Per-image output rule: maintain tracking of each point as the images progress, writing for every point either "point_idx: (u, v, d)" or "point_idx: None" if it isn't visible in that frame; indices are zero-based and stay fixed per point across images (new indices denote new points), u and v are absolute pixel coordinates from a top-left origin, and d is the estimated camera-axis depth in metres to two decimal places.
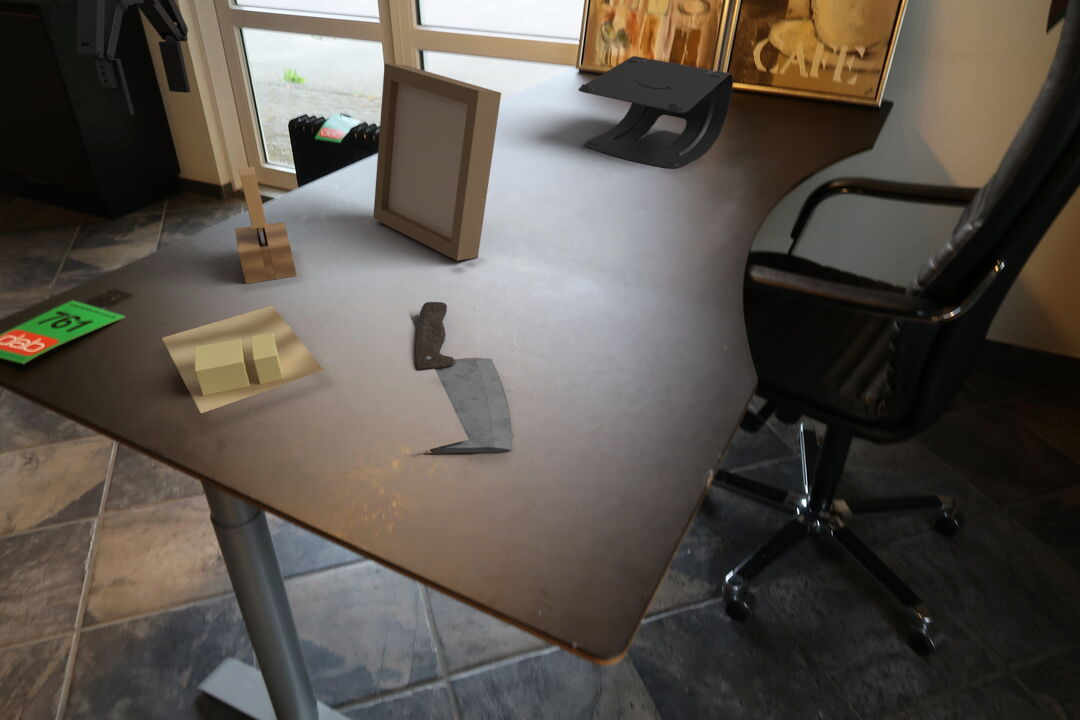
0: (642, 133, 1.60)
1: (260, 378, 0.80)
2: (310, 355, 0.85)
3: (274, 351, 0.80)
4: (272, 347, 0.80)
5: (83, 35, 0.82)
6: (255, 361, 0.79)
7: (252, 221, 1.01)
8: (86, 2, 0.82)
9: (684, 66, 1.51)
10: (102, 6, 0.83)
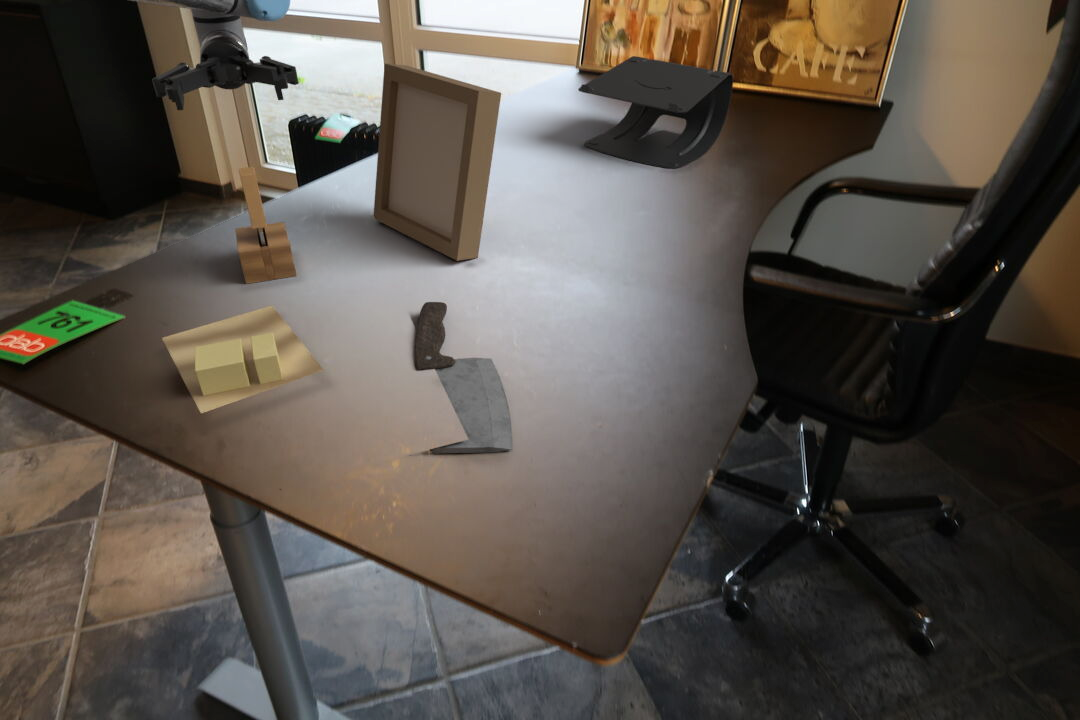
0: (642, 133, 1.60)
1: (260, 378, 0.80)
2: (310, 355, 0.85)
3: (274, 351, 0.80)
4: (272, 347, 0.80)
5: None
6: (255, 361, 0.79)
7: (252, 221, 1.01)
8: None
9: (684, 66, 1.51)
10: None
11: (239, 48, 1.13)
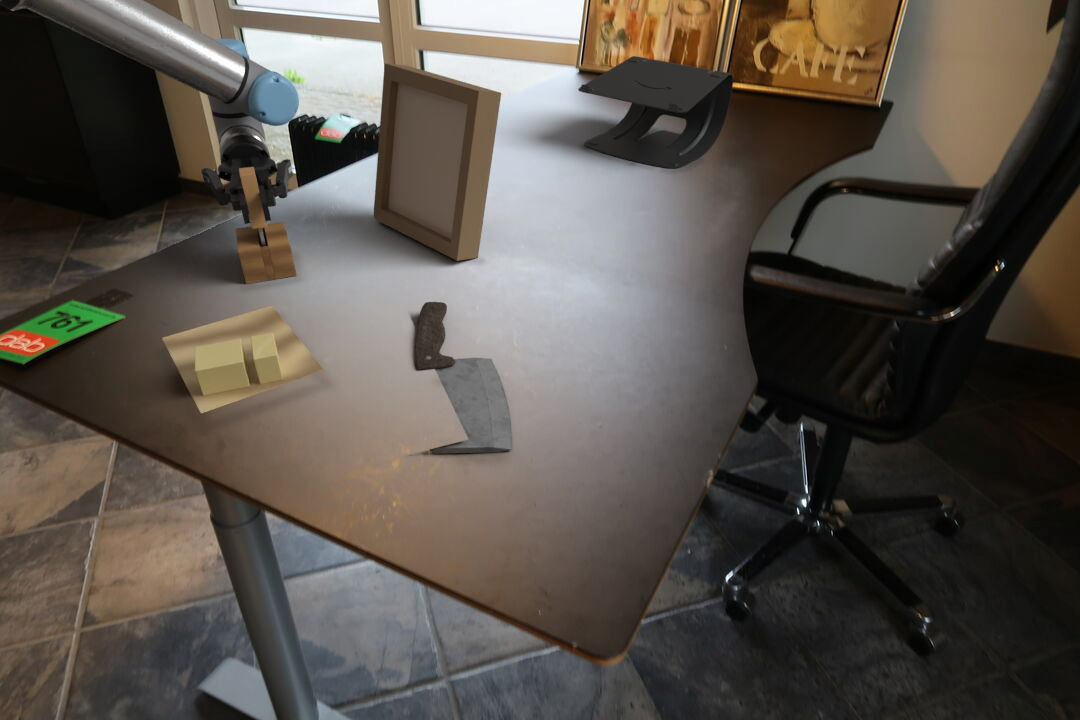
0: (642, 133, 1.60)
1: (260, 378, 0.80)
2: (310, 355, 0.85)
3: (274, 351, 0.80)
4: (272, 347, 0.80)
5: (285, 182, 1.04)
6: (255, 361, 0.79)
7: (252, 221, 1.01)
8: (286, 175, 1.07)
9: (684, 66, 1.51)
10: None
11: (261, 147, 1.10)
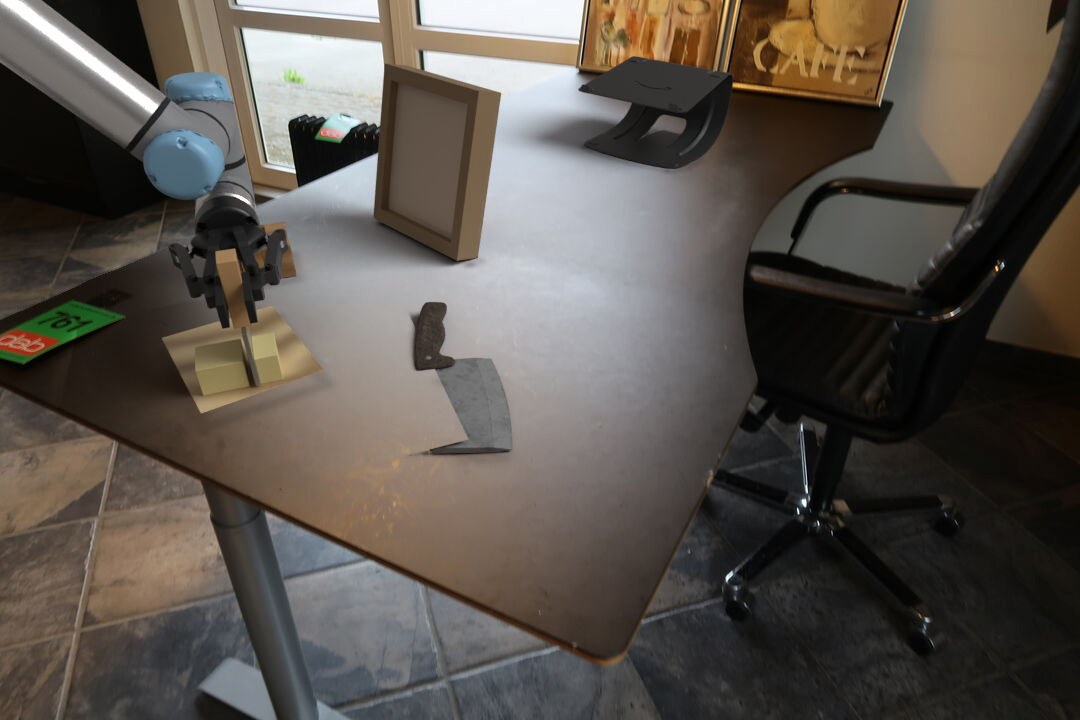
0: (642, 133, 1.60)
1: (260, 378, 0.80)
2: (310, 355, 0.85)
3: (275, 351, 0.80)
4: (272, 347, 0.80)
5: (277, 263, 0.80)
6: (256, 361, 0.79)
7: (233, 319, 0.76)
8: (279, 251, 0.83)
9: (684, 66, 1.51)
10: None
11: (247, 213, 0.86)
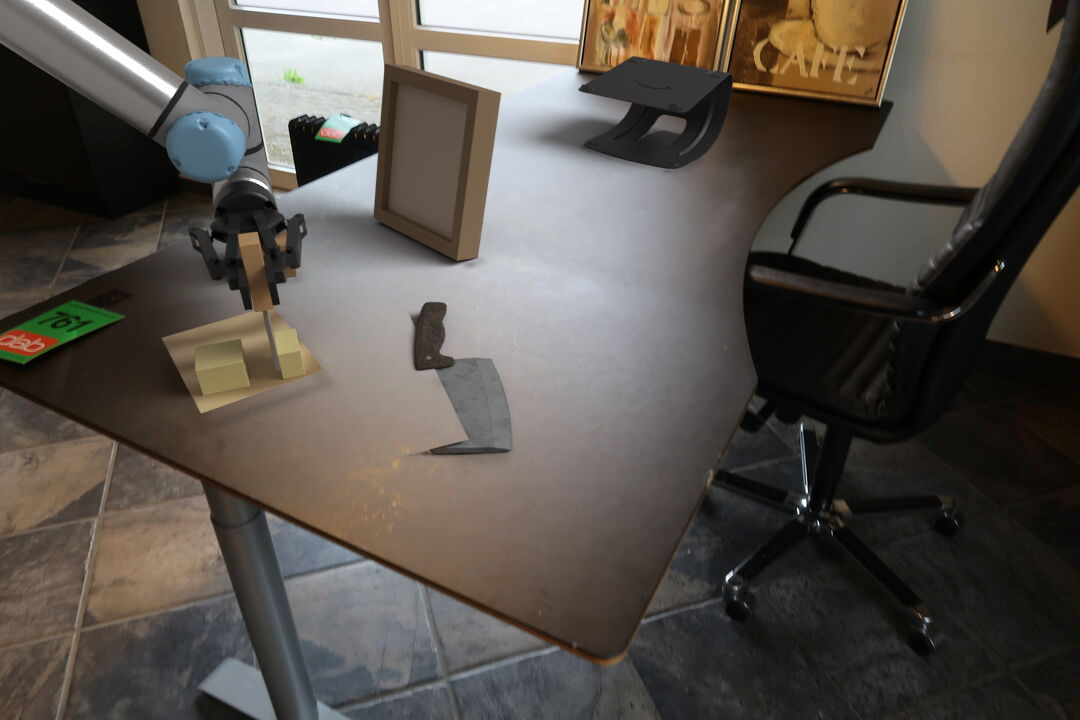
0: (642, 133, 1.60)
1: (283, 373, 0.81)
2: (310, 355, 0.85)
3: (297, 346, 0.81)
4: (295, 343, 0.81)
5: (298, 247, 0.80)
6: (279, 356, 0.79)
7: (255, 303, 0.76)
8: (299, 235, 0.83)
9: (684, 66, 1.51)
10: None
11: (266, 198, 0.86)
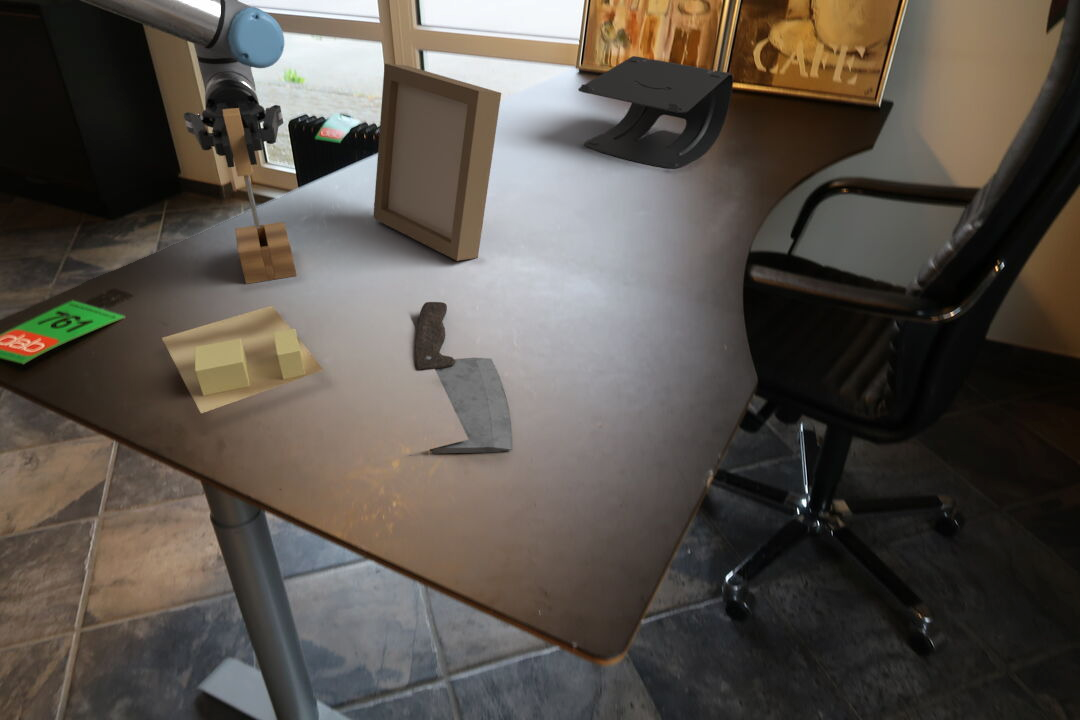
0: (642, 133, 1.60)
1: (283, 373, 0.81)
2: (310, 355, 0.85)
3: (297, 347, 0.81)
4: (295, 343, 0.81)
5: (274, 126, 0.96)
6: (279, 356, 0.79)
7: (237, 168, 0.93)
8: (275, 120, 1.00)
9: (684, 66, 1.51)
10: None
11: (249, 93, 1.03)
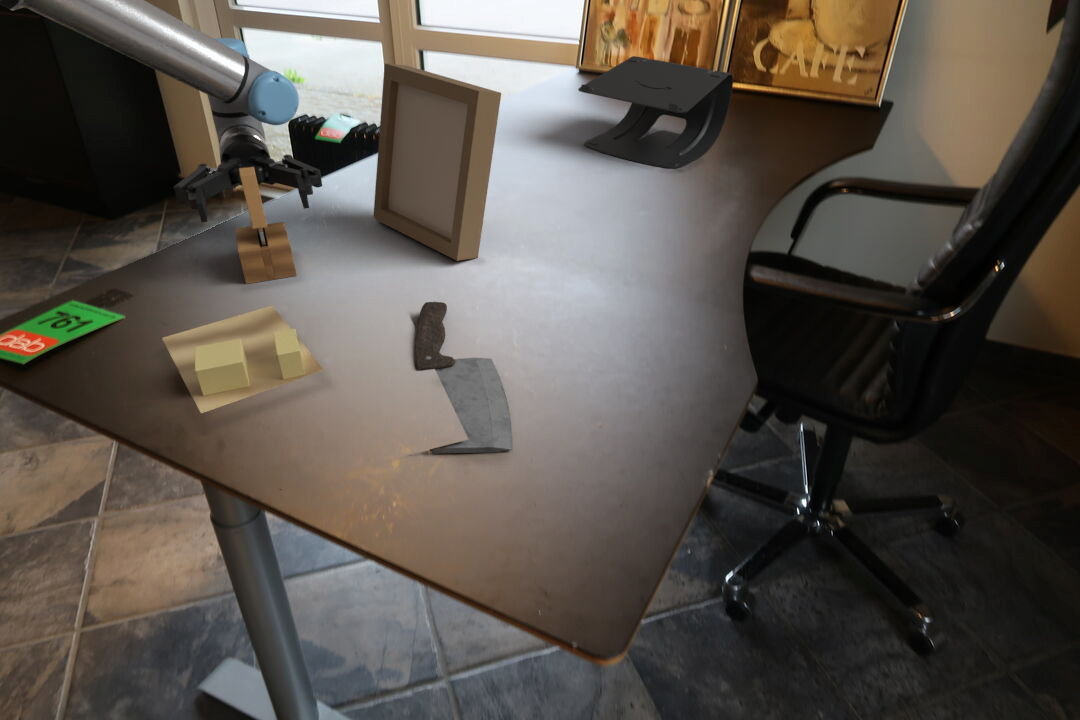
0: (642, 133, 1.60)
1: (283, 373, 0.81)
2: (310, 355, 0.85)
3: (297, 347, 0.81)
4: (295, 343, 0.81)
5: None
6: (279, 356, 0.79)
7: (252, 221, 1.01)
8: None
9: (684, 66, 1.51)
10: None
11: (261, 147, 1.10)
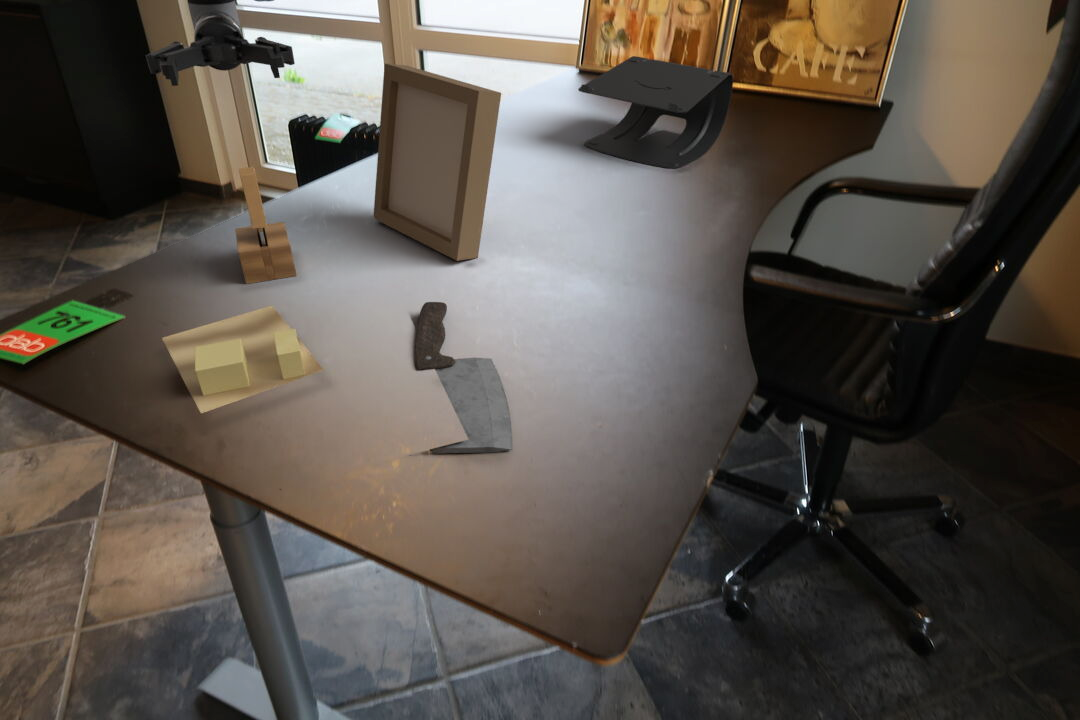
0: (642, 133, 1.60)
1: (283, 373, 0.81)
2: (310, 355, 0.85)
3: (297, 347, 0.81)
4: (295, 343, 0.81)
5: None
6: (279, 356, 0.79)
7: (252, 221, 1.01)
8: None
9: (684, 66, 1.51)
10: None
11: (234, 28, 1.12)
